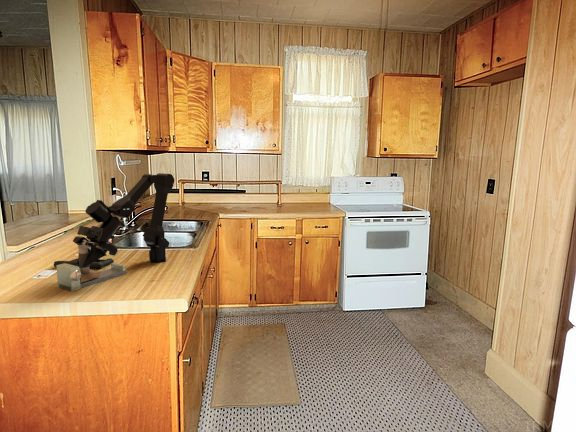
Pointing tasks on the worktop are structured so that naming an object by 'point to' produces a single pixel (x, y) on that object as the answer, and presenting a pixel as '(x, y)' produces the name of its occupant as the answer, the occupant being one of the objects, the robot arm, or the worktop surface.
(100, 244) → the robot arm
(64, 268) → the rail
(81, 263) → the carriage
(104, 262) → the door handle
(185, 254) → the worktop surface
